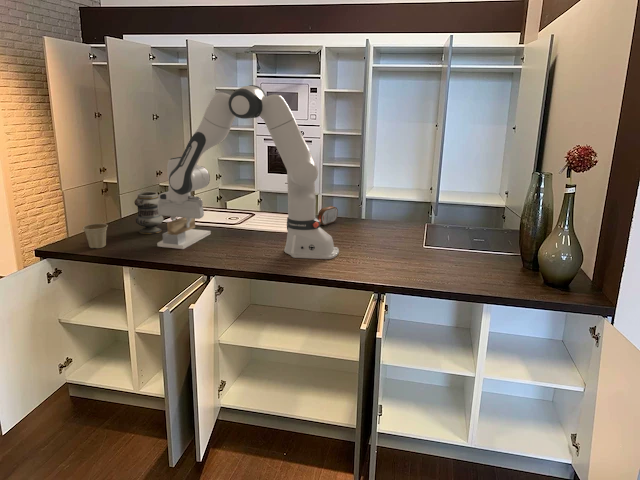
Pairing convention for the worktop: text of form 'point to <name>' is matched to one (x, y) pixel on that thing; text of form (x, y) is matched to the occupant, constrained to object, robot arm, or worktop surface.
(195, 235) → the bracket
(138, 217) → the apothecary jar
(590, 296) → the worktop surface
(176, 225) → the rail
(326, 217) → the tin
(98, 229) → the flower pot
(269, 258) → the worktop surface
